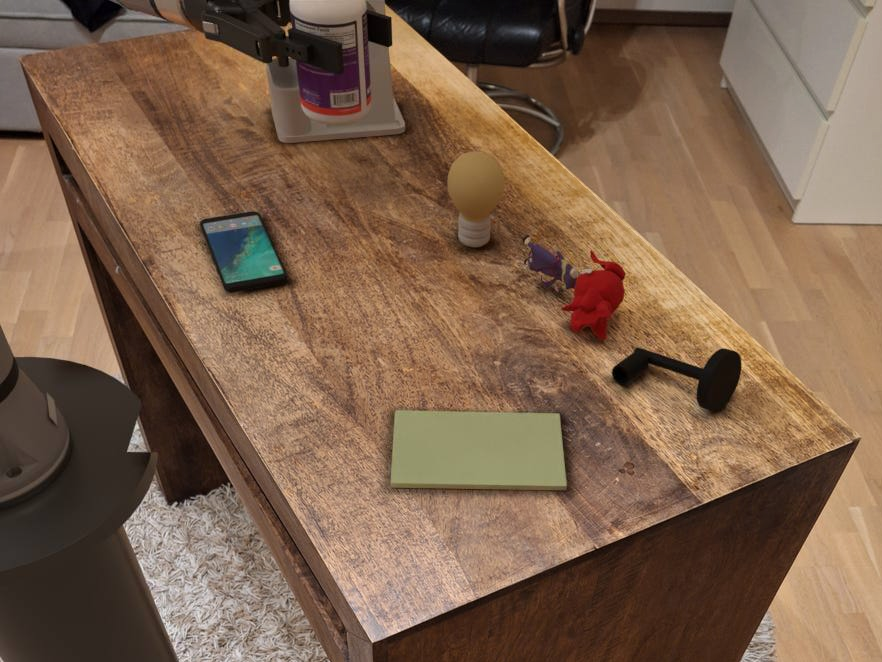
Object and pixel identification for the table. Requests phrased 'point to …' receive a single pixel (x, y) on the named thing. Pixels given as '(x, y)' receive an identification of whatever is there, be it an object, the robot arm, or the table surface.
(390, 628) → the table surface
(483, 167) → the light bulb
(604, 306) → the figurine
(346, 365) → the table surface
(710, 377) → the light fixture
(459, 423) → the mat
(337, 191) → the table surface
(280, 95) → the phone holder
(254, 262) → the smartphone
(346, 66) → the pill bottle
